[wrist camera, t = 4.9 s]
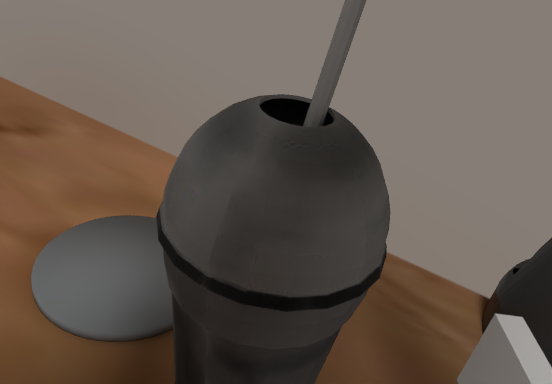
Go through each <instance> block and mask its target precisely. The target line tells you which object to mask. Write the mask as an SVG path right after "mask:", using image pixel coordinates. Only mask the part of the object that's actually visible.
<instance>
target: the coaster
mask: <svg viewBox="0 0 552 384" xmlns="http://www.w3.org/2000/svg"><path fill="white" fill-rule="evenodd" d="M31 283H32V292H33V296H34V300H35V303H36V304H37V306H38V308H39V310H40V311H41V312H42V314H43V315H44V316H45V317H46V318H47V319H48V320H49V321H51V322H52V323H53V324H54V325H56V326H57V327H59V328H61V329H62V330H64V331H67V332H69V333H71V334H73V335H76V336H80V337H83V338H86V339H92V340H98V341H110V342H119V341H132V340H140V339H144V338H148V337H152V336H155V335H158V334H161V333H164V332H166V331H168V330H171V329H173V314H172V291H171V290H170V288H169V284H168V279H167V274H166V269H165V264H164V256H163V247H162V246H161V244H160V243H159V241H158V233H157V221H156V218H151V217H144V216H113V217H105V218H100V219H95V220H92V221H88V222H85V223H82V224H79V225H77V226H75V227H72V228H70V229H68V230H66V231H65V232H63V233H61V234H60V235H58V236H57V237H56V238H54V239H53V240H52V241H50V242H49V243H48V244H47V245H46V246H45V247H44V248H43V250H42V251H41V252H40V254H39V255H38V257H37V259H36V260H35V263H34V266H33V268H32V274H31Z"/></svg>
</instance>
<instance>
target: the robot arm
mask: <svg viewBox="0 0 552 384" xmlns="http://www.w3.org/2000/svg"><path fill="white" fill-rule="evenodd" d="M483 328H484V334H483V335H482V337H481V339H480V340H479V342H478V344H477V346H476V347H475V349H474V351H473V352H472V354H471V356H470V358H469V359H468V361H467V363H466V365H465V366H464V368H463V370H462V371H461V373H460V375H459V377H458V378H457V382H458V384H552V238H551V239H550V240H549V241H548V242H547V243H546V244H544V245H543V246H542V247H541V248H540V249H539V250H538V251H537V252H536V253H535V254H534V256H533V257H532V258H531V259H528V260H525V261H523V262H521V263H519V264H517V265H516V266H515V267H513V268H512V269H511V270H509V271H508V272H507V274H506V275H505V276H504V277H503V278H502V279H501V281H500V282H499V284H498V286H497V288H496V290H495V291H494V293H493V295H492V297H491V298H490V300H489V302H488V304H487V306H486V309H485V312H484V318H483Z"/></svg>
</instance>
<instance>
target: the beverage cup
mask: <svg viewBox="0 0 552 384" xmlns="http://www.w3.org/2000/svg"><path fill="white" fill-rule="evenodd" d="M365 3H366V0H345V3H344V6H343V8H342V11H341V15H340V17H339V20H338V23H337V26H336V29H335V32H334V35H333V38H332V41H331V44H330V47H329V50H328V53H327V56H326V59H325V62H324V65H323V68H322V71H321V74H320V77H319V80H318V83H317V86H316V89H315V92H314V95H313V98H312V100H311V99H308V98H304V97H300V96H294V95H283V94H282V95H266V96H258V97H254V98H250V99H247V100H244V101H241V102H238V103H235V104H233V105H231V106H229V107H228V108H226V109H224V110H222V111H221V112H219V113H218V114H216V115H215V116H213V117H212V118H210V119H209V120H208V121H207V122H205V123H204V124H203V125H202V126H201V127H200V128H199V129H197V130H196V131H195V133H194V134H193V135H192V136H191V138H190V139H189V140H188V141H187V143H186V144H185V146H184V148H183V150H182V151H181V154H180V155H179V157H178V159H177V161H176V163H175V165H174V167H173V169H172V171H171V173H170V175H169V178H168V181H167V184H166V187H165V190H164V197H163V201H162V203H161V206H160V208H159V210H158V213H157V216H156V221H157V233H158V241H159V243H160V244H161V246H162V247H163V256H164V264H165V269H166V274H167V279H168V284H169V288H170V290H171V291H172V314H173V338H174V362H175V384H314V382H315V380H316V378H317V376H318V374H319V372H320V370H321V368H322V366H323V364H324V362H325V360H326V358H327V356H328V354H329V352H330V350H331V348H332V345H333V343H334V341H335V339H336V337H337V335H338V333H339V331H340V329H341V327H342V325H343V324H344V323H345V322H346V321H347V320H348V319H349V318H350V317H351V316H352V314H353V313H354V311H355V310H356V308H357V307H358V306H359V304H360V303H361V301H362V300H363V298H364V297H365V295H366V293H367V291H368V288H369V287H370V286H372V285H373V284H374V283H375V282H376V281H377V280H378V279H379V278H380V274H381V271H382V268H383V265H384V261H385V258H386V248H387V247H386V238H387V234H388V231H389V221H390V205H389V195H388V191H387V188H386V184H385V180H384V176H383V173H382V169H381V165H380V163H379V160H378V159H377V156H376V154H375V152H374V150H373V148H372V147H371V146H370V144H369V143H368V142H367V140H366V139H365V138H364V136H363V135H362V134H361V133H360V132H359V130H358V129H357V128H356V127H355V126H354V125H353V124H352V123H351V122H350V121H349V120H347V119H346V118H345V117H344V116H342V115H341V114H339V113H338V112H336V111H335V110H333V109H331V108H329V105H330V102H331V99H332V97H333V94H334V91H335V88H336V85H337V82H338V80H339V76H340V74H341V71H342V68H343V65H344V62H345V60H346V57H347V54H348V51H349V48H350V45H351V42H352V39H353V37H354V34H355V31H356V28H357V25H358V23H359V20H360V17H361V14H362V11H363V8H364V5H365Z"/></svg>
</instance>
